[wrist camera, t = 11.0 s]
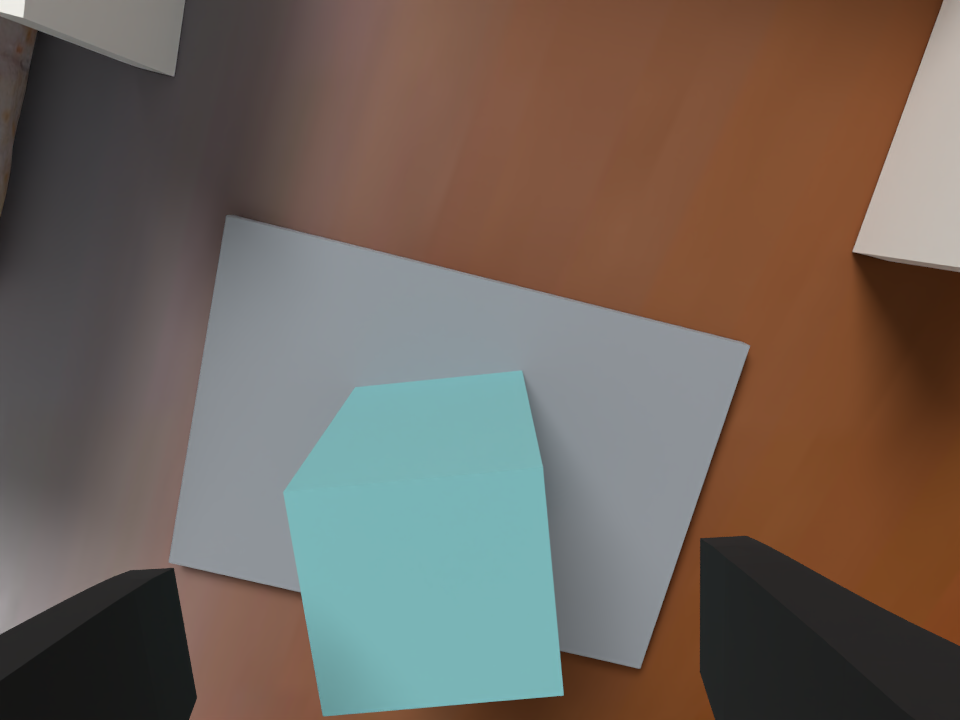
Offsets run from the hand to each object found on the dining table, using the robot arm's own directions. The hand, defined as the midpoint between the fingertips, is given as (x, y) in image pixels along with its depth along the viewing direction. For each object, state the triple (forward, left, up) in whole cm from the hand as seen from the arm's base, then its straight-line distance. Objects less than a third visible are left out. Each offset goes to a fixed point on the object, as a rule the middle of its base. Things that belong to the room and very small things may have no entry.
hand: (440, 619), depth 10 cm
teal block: (0, +1, -10) cm, 10 cm away
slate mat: (0, +1, -10) cm, 10 cm away
